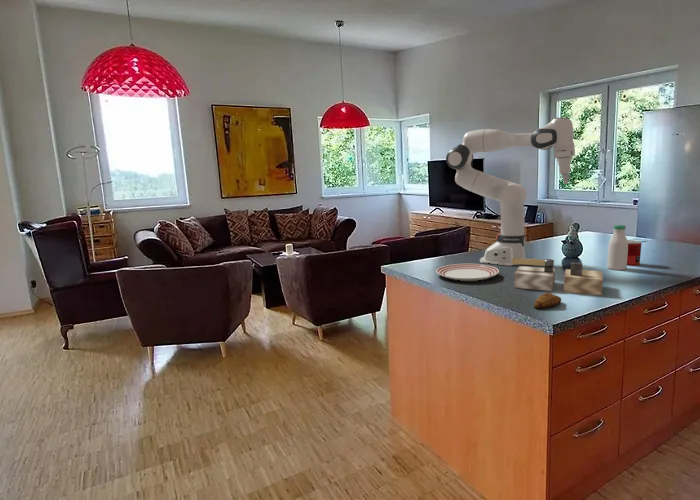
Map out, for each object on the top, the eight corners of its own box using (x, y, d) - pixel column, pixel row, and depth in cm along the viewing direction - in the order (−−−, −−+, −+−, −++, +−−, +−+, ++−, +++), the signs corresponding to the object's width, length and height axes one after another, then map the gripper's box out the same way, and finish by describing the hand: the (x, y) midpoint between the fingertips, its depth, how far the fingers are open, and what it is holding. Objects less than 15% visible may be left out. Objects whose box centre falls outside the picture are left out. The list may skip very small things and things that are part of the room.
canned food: (639, 266, 210) (641, 243, 208) (619, 265, 215) (621, 242, 213) (639, 263, 217) (641, 240, 215) (620, 261, 221) (621, 239, 219)
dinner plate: (460, 287, 187) (460, 280, 186) (424, 274, 211) (424, 267, 211) (512, 279, 197) (512, 271, 197) (472, 267, 222) (472, 260, 221)
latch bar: (511, 264, 187) (511, 258, 186) (512, 262, 190) (512, 257, 189) (553, 267, 180) (553, 261, 179) (553, 265, 183) (554, 259, 182)
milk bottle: (629, 270, 204) (632, 226, 200) (610, 270, 205) (613, 226, 202) (622, 266, 211) (625, 224, 207) (604, 266, 213) (607, 224, 209)
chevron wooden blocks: (514, 287, 183) (515, 262, 181) (518, 279, 195) (519, 255, 193) (601, 295, 169) (603, 267, 167) (601, 285, 181) (602, 259, 179)
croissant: (544, 312, 153) (544, 298, 152) (527, 307, 159) (527, 293, 158) (568, 304, 160) (569, 291, 159) (551, 300, 165) (552, 287, 164)
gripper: (557, 154, 219) (560, 182, 221) (555, 154, 201) (557, 185, 203) (572, 152, 216) (574, 181, 218) (571, 152, 198) (573, 183, 200)
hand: (566, 183), depth 210 cm, fingers open, 8 cm apart
